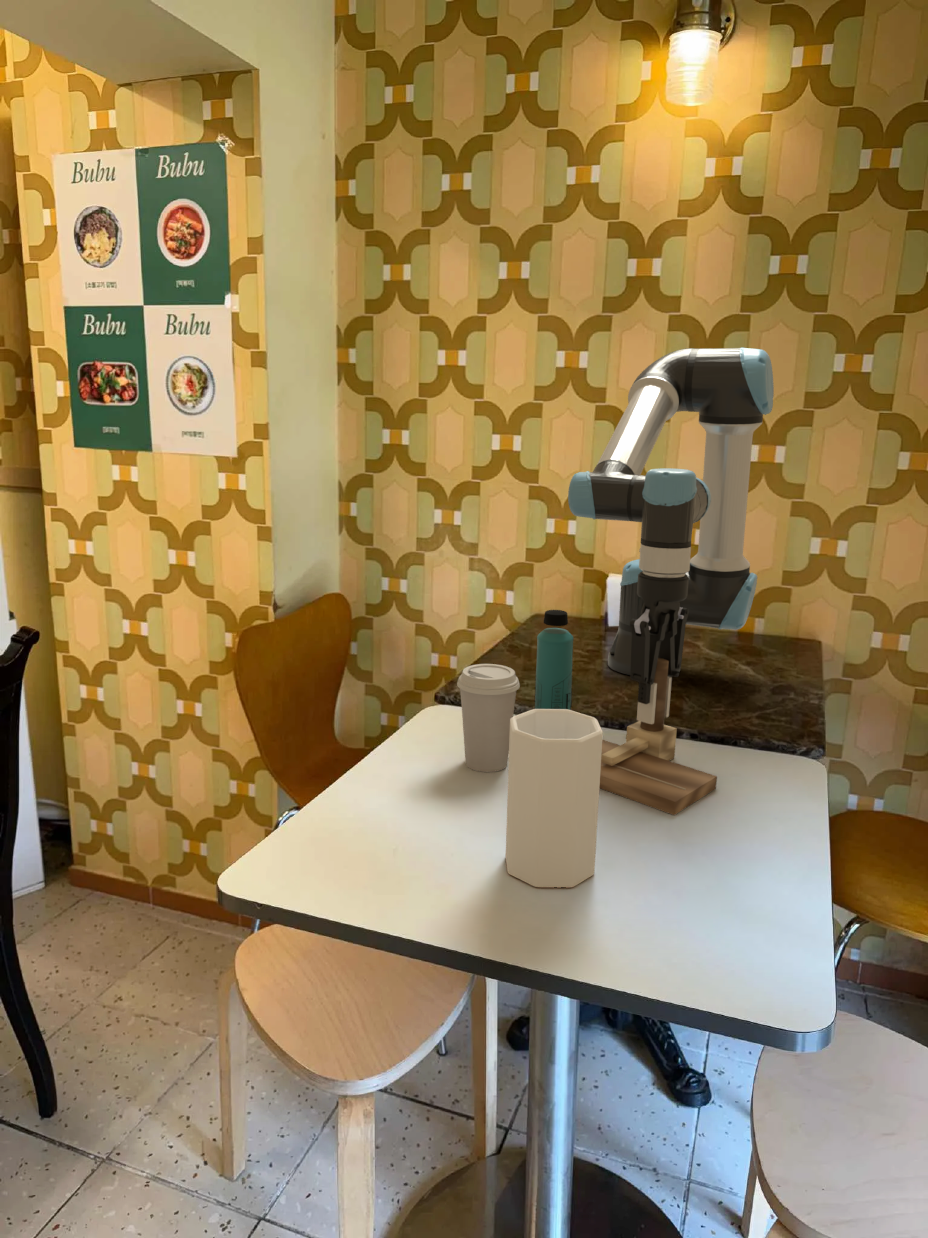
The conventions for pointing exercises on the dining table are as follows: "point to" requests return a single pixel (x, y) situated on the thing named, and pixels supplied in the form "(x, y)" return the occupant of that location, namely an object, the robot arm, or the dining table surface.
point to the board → (655, 781)
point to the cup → (553, 797)
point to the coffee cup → (487, 714)
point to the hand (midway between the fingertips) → (652, 717)
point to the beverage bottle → (554, 664)
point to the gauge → (648, 729)
